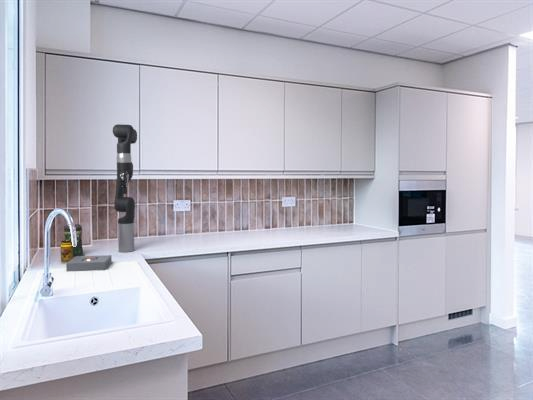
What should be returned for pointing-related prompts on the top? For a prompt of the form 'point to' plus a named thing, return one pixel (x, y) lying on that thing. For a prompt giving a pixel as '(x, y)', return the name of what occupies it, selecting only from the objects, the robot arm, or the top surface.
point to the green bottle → (78, 249)
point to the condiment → (66, 251)
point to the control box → (88, 263)
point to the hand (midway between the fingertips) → (124, 193)
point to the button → (89, 258)
